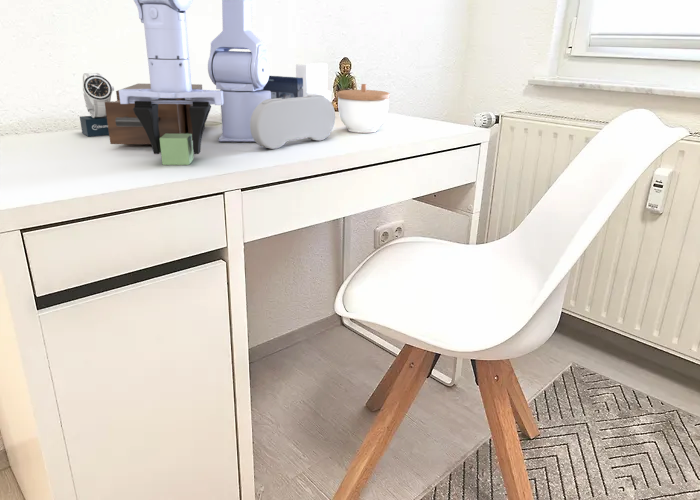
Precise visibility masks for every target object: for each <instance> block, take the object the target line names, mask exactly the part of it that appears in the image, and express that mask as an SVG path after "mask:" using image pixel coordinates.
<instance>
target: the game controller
mask: <svg viewBox="0 0 700 500" xmlns="http://www.w3.org/2000/svg"><path fill="white" fill-rule="evenodd" d="M335 111H336V110H335V107H334V105H333V103H332V101H331V102H330V100H329V99H327V98H325V96H323V95H307V97H296V98H286V99H282V98H274V99H267V100H264V101H262V103H260V104H259V105H258V106H257V107H256V108H255V110H254V111H253V114H252V116H251V121H250V129H251V134H252V137H253V139H254V140H255V143H256V144H257V145H258V146H259V147H262V148H264V149H265V148H266V149H269V150H270V149H271V150H277V149H279V148H281V147H283V146H284V145H285V144H286V143H287V142H290V141H297V140H301V139H308V140H312V141H316V142H319V141H323V140H325V139H327V138H328V137H329V136H330V135H331V133H332V131H333V129H334V127H335V122H336V112H335Z"/></svg>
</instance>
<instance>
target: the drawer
mask: <svg viewBox="0 0 700 500" xmlns="http://www.w3.org/2000/svg"><path fill="white" fill-rule="evenodd" d="M156 100H185V98H159V99H156ZM133 108H135V103H129V104H120V100H117V99H116V100H114V101H111V100H110V101H107V102H105V109H106V116H107V123H108V130H109V135H108V137H109V144H110V145H151V143H150V140H149V138H148V135H147V133H146V131H145V129H144V127H143V126H142V124H141V122H140V121H139V119H138V118H137V116H136V115H135V113H134V111H133ZM158 124H159V134H160V138H161V137H162V136H163V135H164V134H186V133H187V132H188V123H187V111H186V104H158Z"/></svg>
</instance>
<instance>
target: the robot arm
mask: <svg viewBox="0 0 700 500" xmlns="http://www.w3.org/2000/svg"><path fill="white" fill-rule="evenodd" d="M193 1H194V0H133V2H134V4H135V6H136V8H137V11H138V18H139V20H140V22H141V24H143V27H144V37H145V47H146V56H147V65H148V75H149V84H151V89H123V88H121V89H118V90H119V97H120V104H129V103H135V108H133V111H134V113H135V115H136V116H137V118H138V119H139V121H140V122H141V124H142V126H143V127H144V129H145V131H146V133H147V135H148V138H149V140H150V143H151V144H150V145H151V149H152V152H153V155H159V154H161V148H160V134H159V124H158V104H193V106H191V107H189V111H190V117H191V123H192V131H193V140H192V143H193V155H200V153H201V151H202V150H201V149H202V140H203V133H204V129H205V128H204V126H205V127H206V122H207V120H208V116H209V114H210V111H211V109H212V105H214V106H220V111H221V112H220V113H221V129H222V130H221V131H222V133H221V134H220V136H219V137H218V142H255V140H254V139H253V137H252V134H251V129H250V121H251V116H252V114H253V111H254V110H255V108H256V107H257V106H258V105H259V104H260V103H262V101H264V100H267V99H271V91H262V89H263V87H264V86H265V85H266V83H267V82H268V79H269V76H270V73H271V68H270V63H269V58H268V48H267V45H266V44H265V42H263V40H262V39H260V38H259V37H258V36H257V35H256V34H255V33H254V32H253V4H252V3H253V0H221V5H222V6H221V8H222V12H221V15H222V18H221V19H222V31H221V32H220V33H219V34H218V35H217V36H215V37H214V39H212V41H211V42H210V50H209V51H210V52H209V57H208V61H207V73H208V76H209V78H210V79H209V80H211V82H212V83H213V85H214V86H215V89H216V90H214V89H202V90H198V89H192V86H191V84H192V76H191V75H192V74H191V61H190V50H189V38H188V26H187V13H186V11H188V10H189V9H190V7H191V5H192V4H193ZM236 50H237V51H236ZM238 50H242V51H238ZM243 50H249V51H243ZM159 98H185V100H156V99H159ZM255 143H256V142H255Z"/></svg>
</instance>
